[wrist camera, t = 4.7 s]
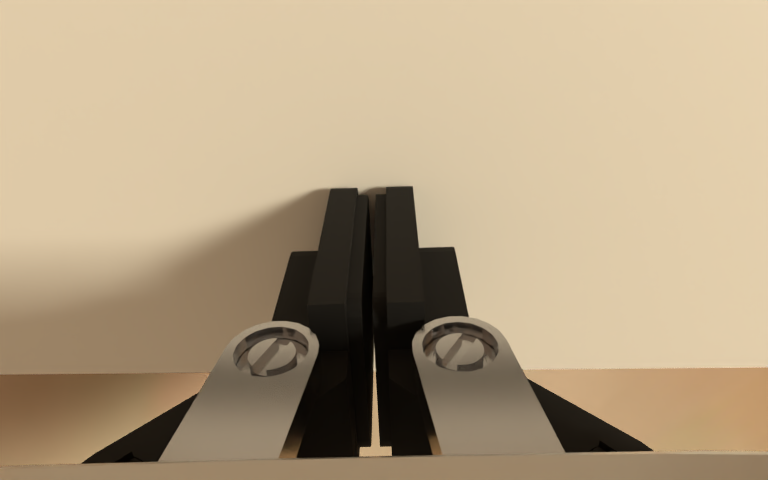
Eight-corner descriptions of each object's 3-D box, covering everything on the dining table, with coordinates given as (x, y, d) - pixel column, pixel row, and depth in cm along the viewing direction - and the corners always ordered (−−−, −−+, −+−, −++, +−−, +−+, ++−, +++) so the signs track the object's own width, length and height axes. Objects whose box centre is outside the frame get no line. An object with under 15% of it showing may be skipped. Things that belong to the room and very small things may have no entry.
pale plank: (895, 322, 14) (949, 365, 13) (-44, 333, 15) (-89, 375, 14) (1089, -71, 10) (1199, -70, 9) (-221, -26, 11) (-311, -19, 10)
